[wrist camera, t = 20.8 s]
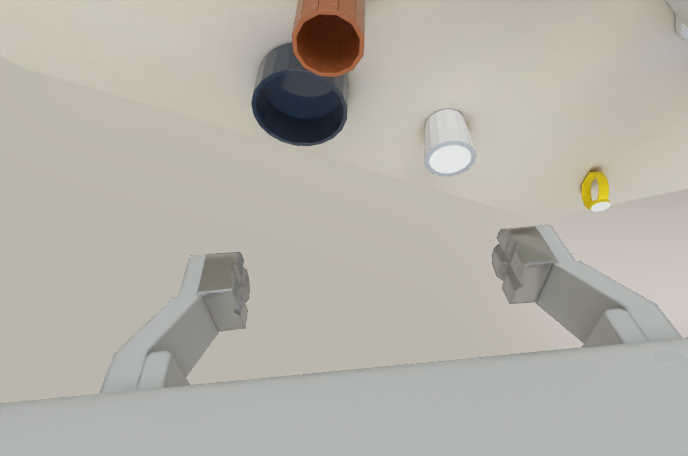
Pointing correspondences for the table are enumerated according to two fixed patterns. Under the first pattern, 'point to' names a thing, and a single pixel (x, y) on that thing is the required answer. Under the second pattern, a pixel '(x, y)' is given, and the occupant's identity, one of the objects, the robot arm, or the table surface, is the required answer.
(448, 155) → the white cylinder
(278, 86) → the wide pot
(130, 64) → the table surface
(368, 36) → the table surface
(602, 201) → the watch
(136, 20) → the table surface
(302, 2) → the orange cup
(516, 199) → the table surface
